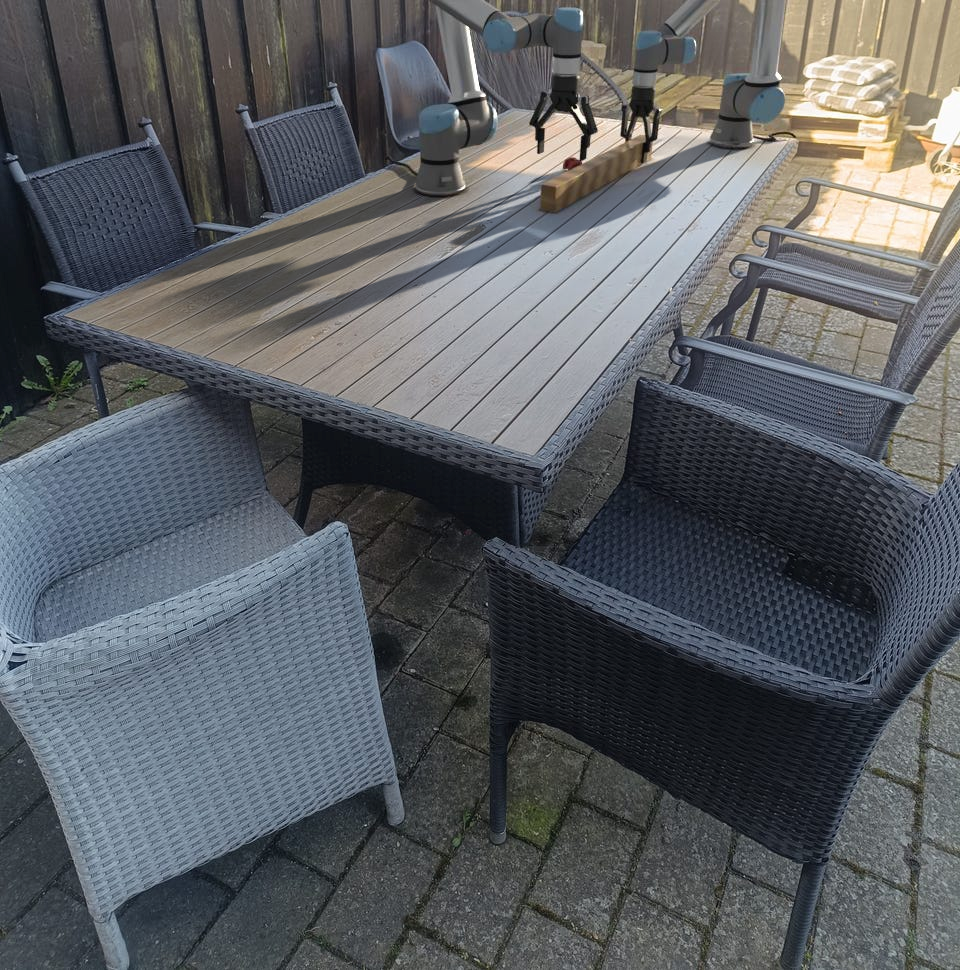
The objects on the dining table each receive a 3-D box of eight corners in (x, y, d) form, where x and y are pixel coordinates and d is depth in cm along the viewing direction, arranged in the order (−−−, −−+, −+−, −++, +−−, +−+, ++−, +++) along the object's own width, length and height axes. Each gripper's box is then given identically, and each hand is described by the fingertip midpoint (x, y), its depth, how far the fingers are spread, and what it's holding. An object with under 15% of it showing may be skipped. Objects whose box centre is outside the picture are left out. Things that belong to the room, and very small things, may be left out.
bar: (554, 212, 240) (555, 187, 236) (539, 210, 243) (541, 184, 238) (651, 158, 287) (653, 136, 283) (638, 156, 289) (640, 134, 285)
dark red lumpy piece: (577, 153, 276) (586, 160, 270) (577, 167, 278) (585, 173, 272) (561, 155, 275) (569, 162, 269) (561, 168, 277) (569, 175, 271)
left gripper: (614, 76, 223) (607, 159, 235) (532, 67, 234) (529, 147, 246) (601, 81, 218) (595, 165, 230) (518, 71, 229) (516, 152, 241)
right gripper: (674, 86, 268) (665, 162, 282) (623, 81, 276) (616, 154, 290) (665, 90, 263) (656, 167, 277) (613, 84, 271) (607, 159, 285)
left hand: (561, 156), depth 238 cm, fingers open, 13 cm apart
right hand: (636, 160), depth 283 cm, fingers closed on bar, 5 cm apart
